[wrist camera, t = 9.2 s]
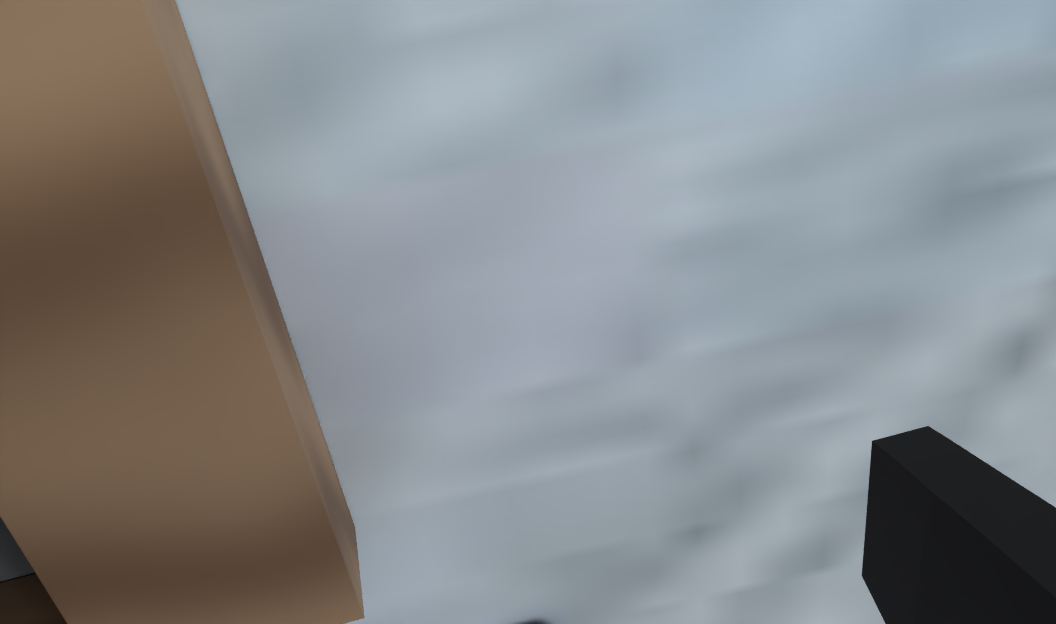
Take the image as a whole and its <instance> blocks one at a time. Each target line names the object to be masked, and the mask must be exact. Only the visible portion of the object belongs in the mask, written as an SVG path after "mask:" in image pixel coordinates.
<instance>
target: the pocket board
mask: <svg viewBox="0 0 1056 624" xmlns="http://www.w3.org/2000/svg"><path fill="white" fill-rule="evenodd" d="M0 517H1V518H2V520H3V522H4V523H5V525H6V526H7V528H8V530H9V531H10V533H11V534H12V536H13V538H14V539H15V541H16V542H17V544H18V546H19V547H20V549H21V550H22V552H23V554H24V555H25V557H26V558H27V560H28V562H29V563H30V565H31V566H32V568H33V570H34V571H35V573H36V574H34V575H30V576H26V577H22V578H18V579H14V580H10V581H6V582H3V583H0V624H344V623H347V622H351V621H355V620H359V619H362V618H364V609H363V600H362V590H361V581H360V571H359V562H358V552H357V543H356V533H355V526H354V523H353V520H352V518H351V515H350V512H349V509H348V506H347V503H346V500H345V497H344V494H343V491H342V488H341V485H340V482H339V479H338V477H337V474H336V471H335V468H334V465H333V462H332V459H331V456H330V453H329V450H328V447H327V444H326V441H325V438H324V435H323V433H322V430H321V427H320V424H319V421H318V418H317V415H316V412H315V409H314V406H313V403H312V400H311V397H310V394H309V391H308V389H307V386H306V383H305V380H304V377H303V374H302V371H301V368H300V365H299V362H298V359H297V356H296V353H295V350H294V347H293V345H292V342H291V339H290V336H289V333H288V330H287V327H286V324H285V321H284V318H283V315H282V312H281V309H280V306H279V304H278V301H277V298H276V295H275V292H274V289H273V286H272V283H271V280H270V277H269V274H268V271H267V268H266V265H265V262H264V260H263V257H262V254H261V251H260V248H259V245H258V242H257V239H256V236H255V233H254V230H253V227H252V224H251V221H250V218H249V216H248V213H247V210H246V207H245V204H244V201H243V198H242V195H241V192H240V189H239V186H238V183H237V180H236V177H235V174H234V172H233V169H232V166H231V163H230V160H229V157H228V154H227V151H226V148H225V145H224V142H223V139H222V136H221V133H220V130H219V128H218V125H217V122H216V119H215V116H214V113H213V110H212V107H211V104H210V101H209V98H208V95H207V92H206V89H205V87H204V84H203V81H202V78H201V75H200V72H199V69H198V66H197V63H196V60H195V57H194V54H193V51H192V48H191V45H190V43H189V40H188V37H187V34H186V31H185V28H184V25H183V22H182V19H181V16H180V13H179V10H178V7H177V4H176V1H175V0H0Z"/></svg>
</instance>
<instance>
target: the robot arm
mask: <svg viewBox="0 0 1056 624" xmlns="http://www.w3.org/2000/svg"><path fill="white" fill-rule="evenodd" d="M862 577H863V579H864V581H865V583H866V585H867V587H868V589H869V591H870V593H871V595H872V597H873V599H874V601H875V603H876V605H877V607H878V609H879V611H880V613H881V615H882V617H883V619H884V621H885V623H886V624H1056V508H1055V507H1054V506H1052V505H1051V504H1049V503H1048V502H1046V501H1044V500H1043V499H1041V498H1040V497H1038V496H1037V495H1035V494H1033V493H1032V492H1030V491H1029V490H1027V489H1026V488H1024V487H1022V486H1021V485H1019V484H1018V483H1016V482H1015V481H1013V480H1012V479H1010V478H1009V477H1007V476H1005V475H1004V474H1002V473H1001V472H999V471H998V470H996V469H995V468H993V467H991V466H990V465H988V464H987V463H985V462H984V461H982V460H981V459H979V458H978V457H976V456H974V455H973V454H971V453H970V452H968V451H967V450H965V449H964V448H962V447H961V446H959V445H957V444H956V443H954V442H953V441H951V440H950V439H948V438H946V437H945V436H943V435H942V434H940V433H938V432H937V431H935V430H934V429H932V428H930V427H929V426H927V427H923V428H919V429H915V430H912V431H908V432H904V433H900V434H897V435H893V436H889V437H885V438H881V439H878V440H874V441H872V450H871V463H870V477H869V490H868V503H867V516H866V529H865V542H864V555H863V568H862Z"/></svg>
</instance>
